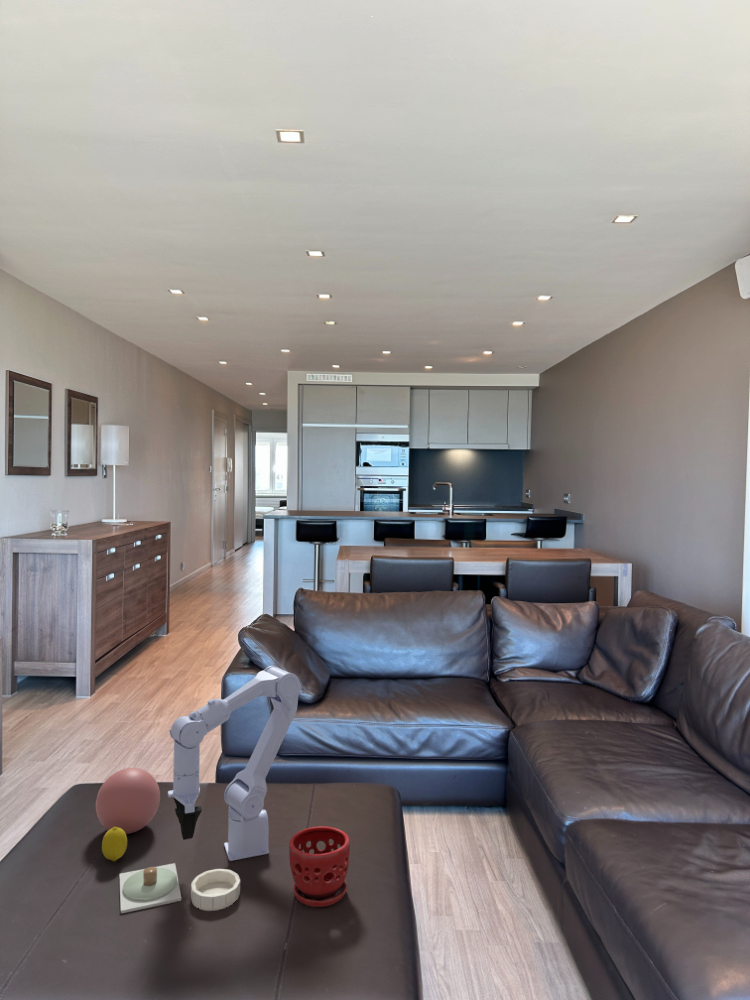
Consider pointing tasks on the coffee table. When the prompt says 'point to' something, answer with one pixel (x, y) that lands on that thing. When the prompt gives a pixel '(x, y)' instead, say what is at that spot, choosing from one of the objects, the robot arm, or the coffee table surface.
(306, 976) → the coffee table surface
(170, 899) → the mat
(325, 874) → the plant pot
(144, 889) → the lid
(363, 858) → the coffee table surface
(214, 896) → the dish
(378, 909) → the coffee table surface
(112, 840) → the lemon
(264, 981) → the coffee table surface
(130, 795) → the balloon
